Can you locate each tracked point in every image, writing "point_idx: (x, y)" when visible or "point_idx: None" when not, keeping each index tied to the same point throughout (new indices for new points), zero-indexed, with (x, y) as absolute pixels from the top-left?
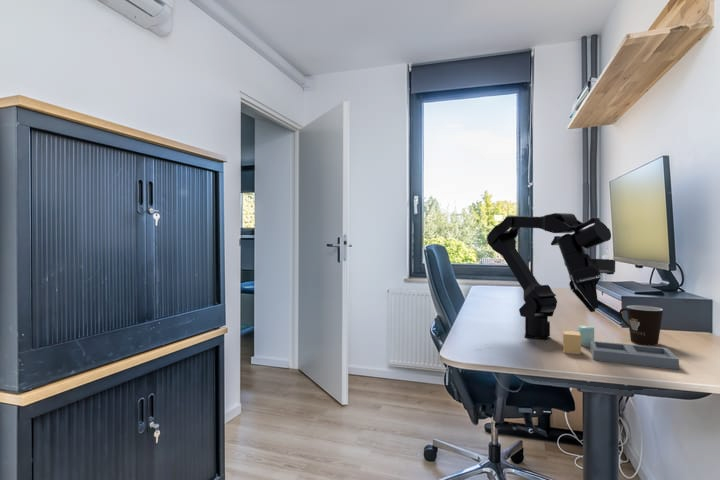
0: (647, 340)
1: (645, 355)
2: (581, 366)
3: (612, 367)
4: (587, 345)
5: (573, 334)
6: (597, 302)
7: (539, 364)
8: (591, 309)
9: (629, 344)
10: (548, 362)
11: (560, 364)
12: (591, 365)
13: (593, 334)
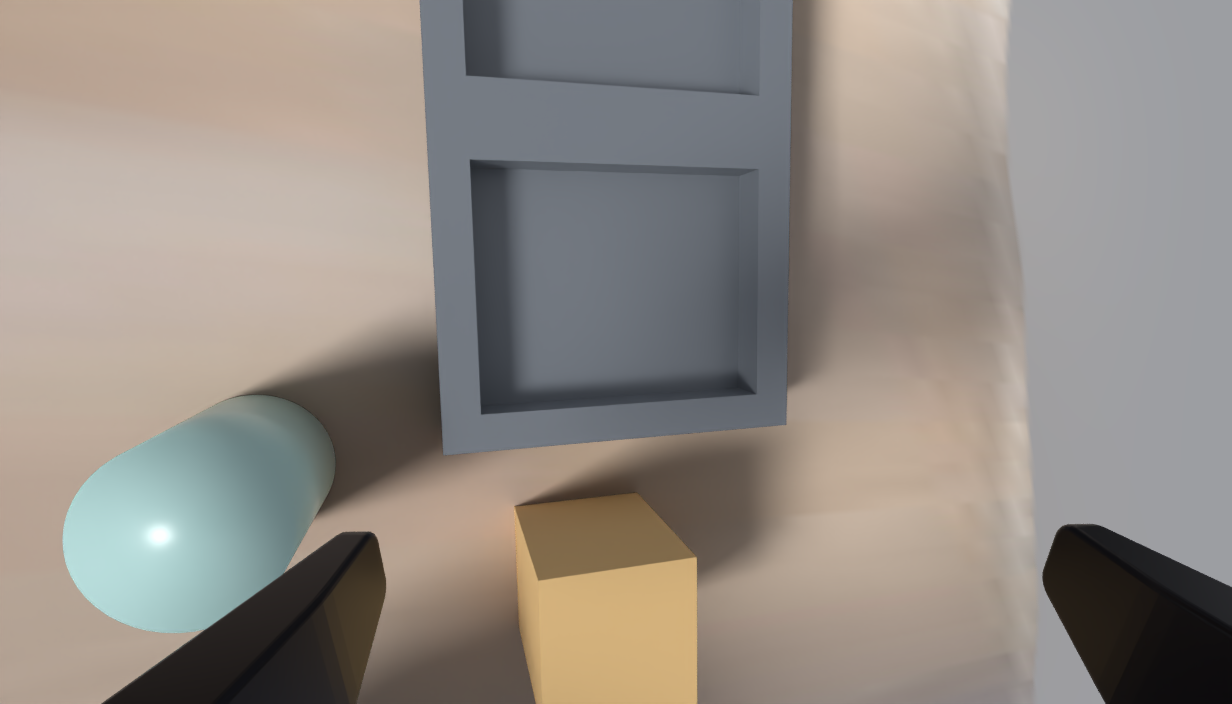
0: None
1: (782, 51)
2: (909, 476)
3: (863, 303)
4: (331, 454)
5: (680, 623)
6: (1216, 585)
7: (955, 686)
8: (365, 606)
9: (427, 92)
10: (903, 652)
11: (915, 586)
12: (870, 422)
13: (254, 428)
